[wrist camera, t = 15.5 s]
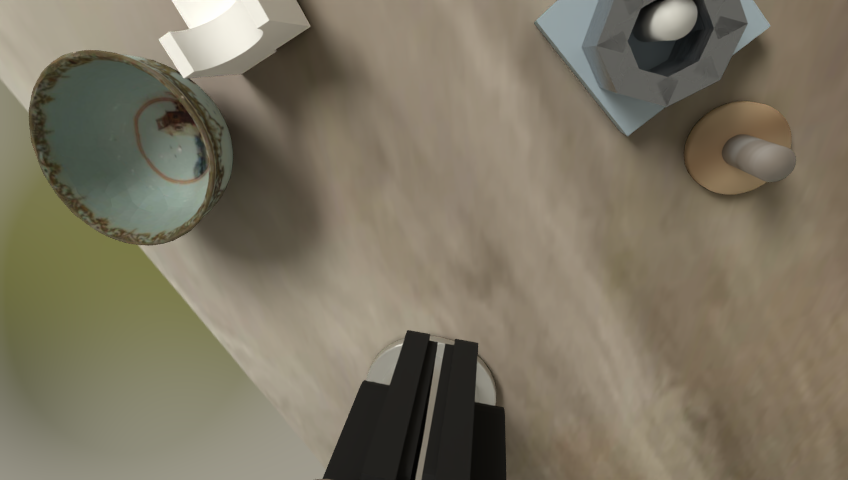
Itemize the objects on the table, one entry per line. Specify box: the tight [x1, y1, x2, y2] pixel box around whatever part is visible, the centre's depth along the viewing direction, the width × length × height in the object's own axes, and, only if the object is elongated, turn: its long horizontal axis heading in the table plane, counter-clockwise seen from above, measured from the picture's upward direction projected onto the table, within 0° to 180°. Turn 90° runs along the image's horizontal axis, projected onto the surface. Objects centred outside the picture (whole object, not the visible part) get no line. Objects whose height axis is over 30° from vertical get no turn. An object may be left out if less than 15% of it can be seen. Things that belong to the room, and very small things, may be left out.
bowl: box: [29, 50, 233, 245], centre depth 35 cm, size 14×13×8 cm
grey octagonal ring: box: [581, 0, 748, 107], centre depth 27 cm, size 7×7×5 cm
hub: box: [534, 0, 770, 136], centre depth 28 cm, size 10×10×6 cm
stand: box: [684, 101, 796, 194], centre depth 30 cm, size 6×6×6 cm
